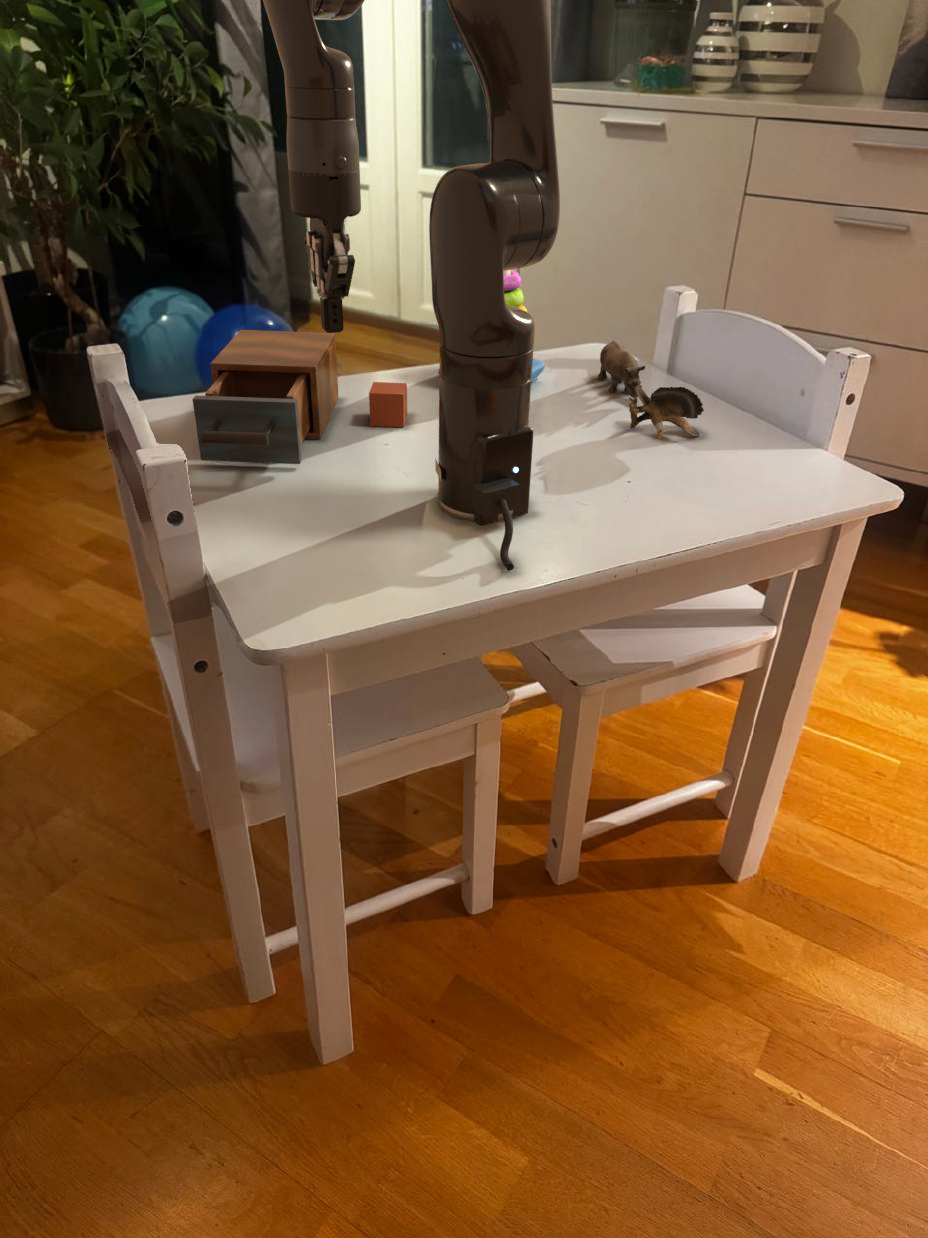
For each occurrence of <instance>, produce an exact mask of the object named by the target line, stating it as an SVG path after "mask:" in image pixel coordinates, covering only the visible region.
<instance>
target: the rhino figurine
mask: <svg viewBox="0 0 928 1238" xmlns="http://www.w3.org/2000/svg"><path fill="white" fill-rule="evenodd" d="M599 355H600V356H599V361H600V362H599V363H600V371H599V373H598V374H597V379H599V380H602V381H603V380H607V379H608V374H609V375H610V378H611V385H609V387H608V389H607V391H608V392H610V393H618V385H619V383H623V385H624V388H623V392H624V393H625V394H629V395H630V398H632V399H635V398H637V399H638V398H639V397H638V396H637V392H636V388H642V389H643V385H642V381H641V379H640V374H639V373H640V372H641V371H644V370H645V369H646V365H641V366H639V365H638V361H637V359H636V358H635V356H633V355H632V354H631V352H629V350H628V349H627V346H625V344H623V343H622V342H618V341H616V340H612V341H611V342H609V343H607V344H606V345H604V346H603V347H602V349H601V351H600V354H599Z"/></svg>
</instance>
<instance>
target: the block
mask: <svg viewBox="0 0 928 1238" xmlns="http://www.w3.org/2000/svg"><path fill="white" fill-rule="evenodd" d="M368 405H369V406H368V407H369V408H368V409H369V426H370V427H385V428H386V427H387V428H405V426H406V421H407V419H408V418H407V417H408V384H407V382H389V381H388V382H384V381H373V382H372V384H371V387H370V389H369V392H368Z"/></svg>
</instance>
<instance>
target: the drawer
mask: <svg viewBox="0 0 928 1238" xmlns="http://www.w3.org/2000/svg"><path fill="white" fill-rule="evenodd" d="M192 406H193V413H194V420H195V421H194V422H195V426H196V434H197V440H198V441H197V442H198V448H199V455H200V461H206V462H230V463H231V462H233V463H257V464H258V463H259V464H264V463H265V464H282V465H283V464H287V465H301V462H302V460H303V459H302V448H301V447H302V445H303V443H304V442H305V440H306V439H305V437H306V435H307V433H308V431H309V429H310V427H311V425H312V423H313V415H312V401H311V386H310V373H289V372H260V371H232V370H224V372H223V373H222V374H221V375H220V376H219V378H218V379H217V380H216V381H215V382H214V384H213V383H212V385H211V386H210V387H209V388H208V389H207V390H206V392H205V394H204V395H194V397H192Z"/></svg>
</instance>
